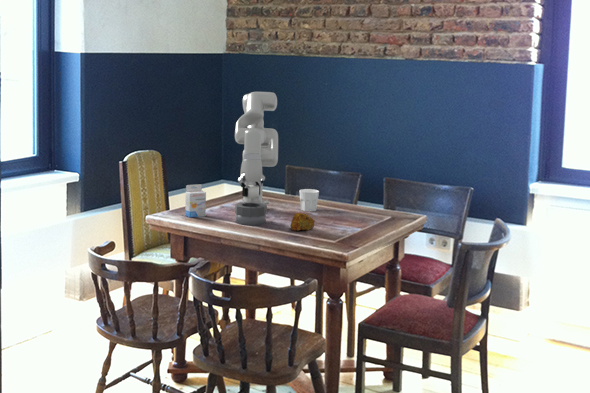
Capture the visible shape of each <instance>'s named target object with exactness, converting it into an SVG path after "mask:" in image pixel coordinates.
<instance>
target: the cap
mask: <svg viewBox="0 0 590 393" xmlns="http://www.w3.org/2000/svg"><path fill="white" fill-rule="evenodd" d="M247 188H248V197H244V198H249V199H256V198H259V186H258V185H256V184H254V185H248V186H247Z"/></svg>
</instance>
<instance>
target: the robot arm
mask: <svg viewBox="0 0 590 393" xmlns="http://www.w3.org/2000/svg"><path fill="white" fill-rule="evenodd" d="M242 97H243V98H242V109H243V112H244V114H242V115H241V116H240V117H239V118H238V120H237V121H236V123H235V127H234V128H235V130H234V140H235V143H237V144H239V145H244V146H243V148H244V149H243V151H242V160H241V161H242V162H241V164H240V177H238V179H237V182H238V183H239V185H240V187H241V188H242V191H241V192H242V194H241V196H242V197H243V198H242V202H258V203H263V204H266V205H269V204H270V201H269V200H264V199H263V186H264V181H265V180H266V176H265V175H264V174H263V167H268V168H270V167H271V168H272V167H275V166H277V164H278V161H279V133H278V131H277V130H276V129H274V128H267V127H264V125H265V123H264V116H265V114H264V112H265V111H266V112H267V111H269V112H274V111H275V110H276V109H277V107H278V97H277V95H276V93H275V92H271V91H252V92H250V93H246V94H244V95H243V96H242ZM254 184H256V185H258V186H259V198H256V199H249V198H244V197H248V188H247V186H248V185H254Z"/></svg>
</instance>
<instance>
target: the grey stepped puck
mask: <svg viewBox="0 0 590 393" xmlns="http://www.w3.org/2000/svg"><path fill="white" fill-rule="evenodd" d="M267 205H268V204H263V203H258V202H243V201H242V202H237V203H235V205H234V213H235V223H236V224H238V225H242V226H262V225H264V224H266V221H267V209H268V207H267Z"/></svg>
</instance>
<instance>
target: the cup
mask: <svg viewBox="0 0 590 393" xmlns="http://www.w3.org/2000/svg"><path fill="white" fill-rule="evenodd" d="M319 194H320V191H319V190H317V189H314V188H313V189H312V188H304V189H299V200H300V201H299V202H300V203H299V205H300V211H304V212H310V211H311V212H317V208H318V201H319Z"/></svg>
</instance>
